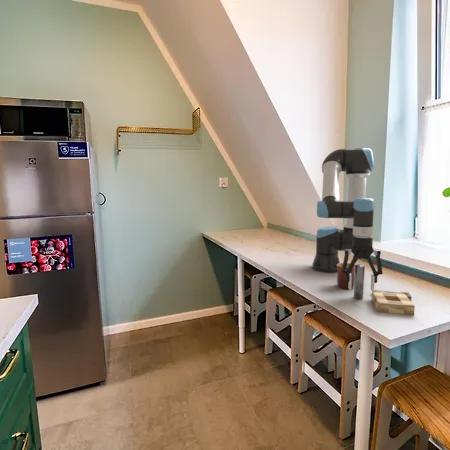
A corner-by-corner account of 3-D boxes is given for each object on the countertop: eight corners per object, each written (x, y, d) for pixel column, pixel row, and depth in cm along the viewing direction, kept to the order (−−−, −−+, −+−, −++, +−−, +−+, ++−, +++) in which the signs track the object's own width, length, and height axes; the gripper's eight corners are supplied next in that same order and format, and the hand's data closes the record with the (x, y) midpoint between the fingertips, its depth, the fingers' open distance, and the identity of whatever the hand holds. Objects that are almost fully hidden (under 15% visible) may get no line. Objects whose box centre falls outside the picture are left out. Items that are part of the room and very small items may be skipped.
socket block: (371, 299, 128) (372, 291, 127) (403, 302, 125) (404, 293, 124) (378, 311, 116) (379, 303, 116) (414, 314, 113) (414, 305, 113)
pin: (353, 295, 132) (354, 264, 130) (362, 296, 131) (363, 264, 129) (354, 299, 129) (356, 266, 126) (363, 299, 128) (365, 267, 126)
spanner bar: (373, 297, 130) (373, 293, 130) (372, 293, 135) (372, 289, 135) (411, 301, 126) (411, 296, 126) (408, 296, 130) (408, 292, 130)
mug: (339, 290, 138) (340, 268, 137) (332, 283, 147) (333, 263, 145) (366, 289, 139) (367, 267, 137) (357, 283, 147) (358, 262, 146)
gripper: (336, 237, 125) (335, 291, 128) (393, 238, 120) (390, 294, 123) (334, 234, 132) (333, 285, 135) (388, 234, 127) (386, 287, 130)
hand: (361, 289), depth 129 cm, fingers open, 8 cm apart
